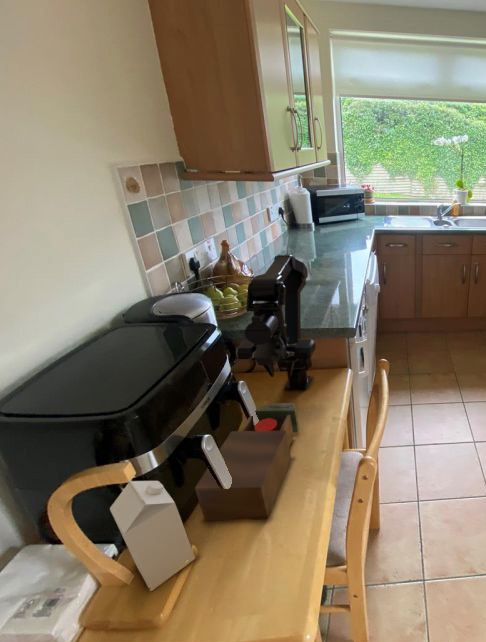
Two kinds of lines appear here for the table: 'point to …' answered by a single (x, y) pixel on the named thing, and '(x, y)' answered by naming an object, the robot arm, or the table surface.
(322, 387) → the table surface
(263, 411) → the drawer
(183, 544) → the milk carton
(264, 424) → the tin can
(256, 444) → the brown wooden block
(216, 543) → the table surface
